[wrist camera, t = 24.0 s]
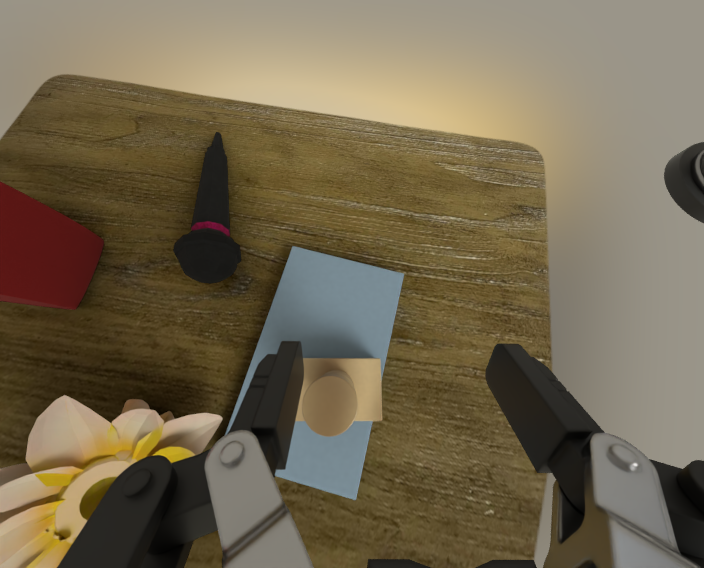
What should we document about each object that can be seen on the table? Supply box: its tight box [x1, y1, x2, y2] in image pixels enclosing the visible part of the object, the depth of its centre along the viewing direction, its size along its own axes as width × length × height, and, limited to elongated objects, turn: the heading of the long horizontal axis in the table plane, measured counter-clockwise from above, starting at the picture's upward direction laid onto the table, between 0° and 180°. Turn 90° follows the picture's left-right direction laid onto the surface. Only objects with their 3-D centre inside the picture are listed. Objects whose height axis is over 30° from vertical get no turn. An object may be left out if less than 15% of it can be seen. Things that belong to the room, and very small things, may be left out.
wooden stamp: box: [295, 358, 382, 437], centre depth 18 cm, size 7×4×11 cm, turn 90°
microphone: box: [173, 132, 241, 283], centre depth 27 cm, size 6×6×20 cm
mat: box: [225, 246, 404, 500], centre depth 24 cm, size 12×20×1 cm, turn 165°
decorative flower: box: [0, 395, 223, 568], centre depth 17 cm, size 15×11×10 cm
